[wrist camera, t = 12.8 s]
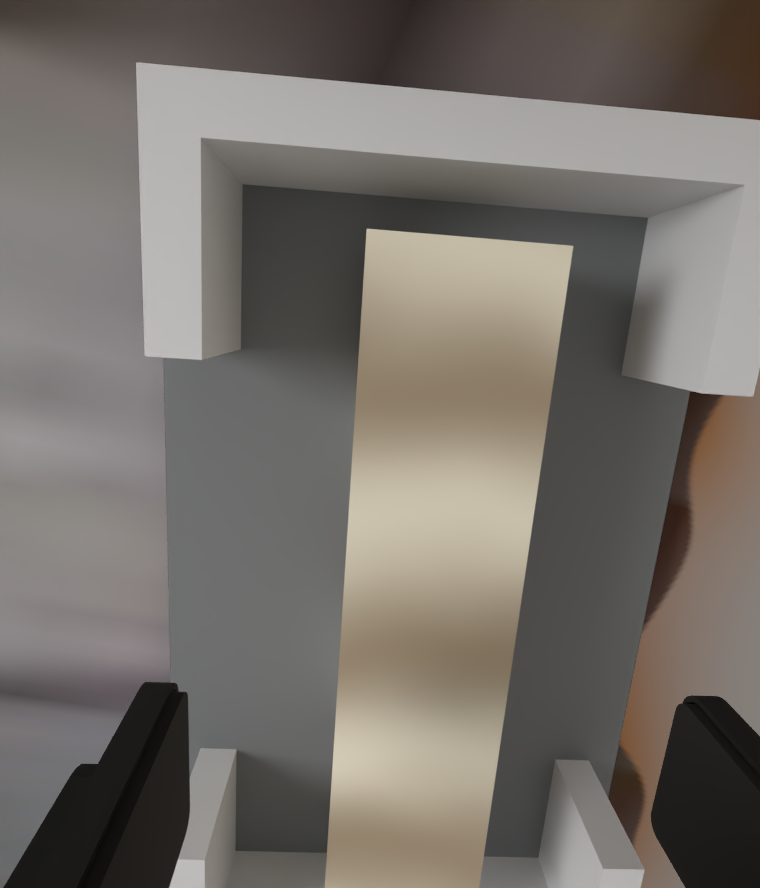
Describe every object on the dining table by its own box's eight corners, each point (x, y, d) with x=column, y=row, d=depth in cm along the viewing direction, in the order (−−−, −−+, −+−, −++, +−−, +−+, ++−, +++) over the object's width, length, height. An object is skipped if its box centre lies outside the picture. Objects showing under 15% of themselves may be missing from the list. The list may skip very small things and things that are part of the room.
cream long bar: (365, 250, 15) (366, 228, 12) (520, 263, 16) (573, 245, 12) (329, 819, 20) (321, 942, 16) (449, 823, 20) (470, 945, 16)
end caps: (170, 109, 15) (81, 13, 10) (716, 158, 16) (870, 89, 11) (183, 865, 21) (131, 1026, 17) (577, 873, 22) (638, 1030, 17)
